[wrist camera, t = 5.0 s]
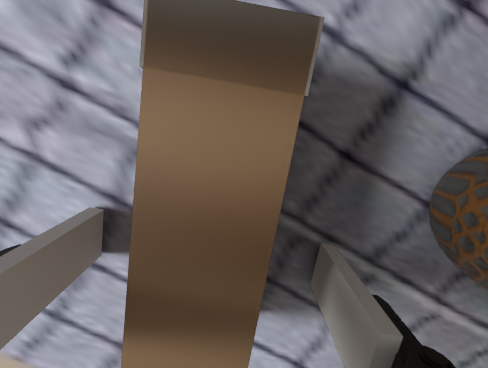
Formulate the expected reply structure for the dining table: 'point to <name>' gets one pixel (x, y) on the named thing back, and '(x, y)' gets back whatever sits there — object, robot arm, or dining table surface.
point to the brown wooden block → (210, 175)
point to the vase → (463, 216)
